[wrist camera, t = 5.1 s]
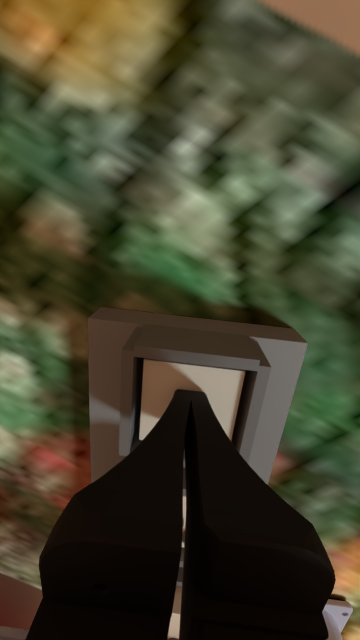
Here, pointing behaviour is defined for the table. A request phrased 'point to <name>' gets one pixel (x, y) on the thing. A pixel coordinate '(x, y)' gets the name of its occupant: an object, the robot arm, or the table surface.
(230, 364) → the button panel
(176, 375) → the one pip button
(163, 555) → the robot arm
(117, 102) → the table surface
